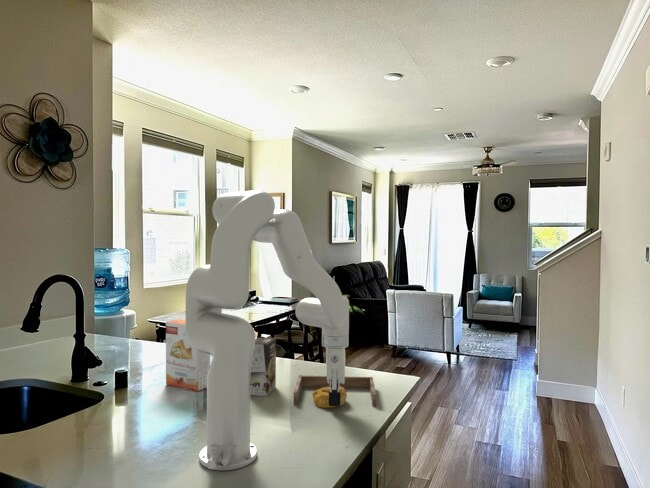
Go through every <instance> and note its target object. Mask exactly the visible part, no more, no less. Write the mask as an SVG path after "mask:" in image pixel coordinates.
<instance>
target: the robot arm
mask: <svg viewBox="0 0 650 488" xmlns="http://www.w3.org/2000/svg"><path fill="white" fill-rule="evenodd" d="M212 215H213V218H214V220H215V222H216V223H217V224H218V226H217V227H216V229H215V231H214V234H213V236H212V240H211V249H210V260H209V261H210V263H209V264H203V265H201V266H198V267H196V268H195V269H194V270H193V271H192V272H191V274H190V275H189V277H188V280H187V283H186V287H185V316H184V317H185V319H184V320H185V328H186V337H187V340H188V342H189V344H190V345H191V346H192V347H193V348H194V349H196V350H198V351H200V352H203V353H207V354H210V356H212V361H211V362H210V368H209V371H208V375H207V388H206V445H205V447H203V448H202V449H201V450H200V452H199V454H198V455H199V458H198V460H199V463H200V464H201V465H202V466H203V467H205V468H208V469H209V470H214V471H233V470H238V469H241V468H242V469H243V468H244V467H246V466H249V465H250V464H251V463H253V462H254V461H255V460H256V458H257V456H258V449H257V446H256V445H255V444H254V443H251V395H250V375H251V361H252V355H253V350H254V345H255V339H256V332H255V329H254V328H253V326H252V324H251V323H250V322H249V321H248V320H246V319H245V318H242V317H240V316H237V315H233V314H229V313H222V312H223V311H222V310H238V309H240V308H242V307H243V306H245V305H246V303H247V301H248V299H249V296H250V295H249V294H250V265H251V264H250V259H251V258H250V257H251V248H252V244H253V241H254V242H258V243H265V244H266V243H267V244H268V243H269V244H270V243H271V244H272V245H273V248H274V250H275V253H276V255H277V257H278V260H279V264H280V265H281V267H282V271H283V273H284V275H285V276H287V277H288V278H289V279H291V280H292V281H294V282H295V283H297V284H299V285H300V286H302V287H304V288H305V289H306V290H308V291H310V293H312V294H313V295H314V296H315V297H305V298H303V299H301V300H300V301H299V302H298V303H297V305H296V307H295V317H296V318H297V320H298V321H299V322H300V323H302V325H303V324H304V325H305V326H306V325H307V326H311V327H316V328H321V347H323V348H325V371H326V376H327V383H328V384H329V383H330V390H329V406H339V407H341V406H340V383H342V384H344V383H345V376H346V348H348V347H349V344H350V343H349V338H350V337H349V335H350V334H349V333H350V331H349V330H350V300H349V299H348V298H347V296H344V295H343V293H342V291H341V289H340V287H339V285H338V284H337V282H336V281H335V280H334V278H332V277H331V275H330V274H329V273H328V272H327V271H326V270H325V269H324V268H323V267H322V266H321V265H320V264H319V263H318V262H317V261H316V259H315V257H314V255H313V251H312V249H311V245H310V243H309V241H308V238H307V235H306V232H305V230H304V227H303V224H302V222H301V218H300V217H299V215H298V214H297V213H296V212H295V211H292V210H289V209H276V203H275V199H274V198H273V197H272V195H271V194H269V193H268V192H266V191H261V190H247V191H246V190H244V191H235V192H225V193H224V194H221V195H220V196H218V197H217V198H216V199H215V200H214V202H213V204H212Z"/></svg>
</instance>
